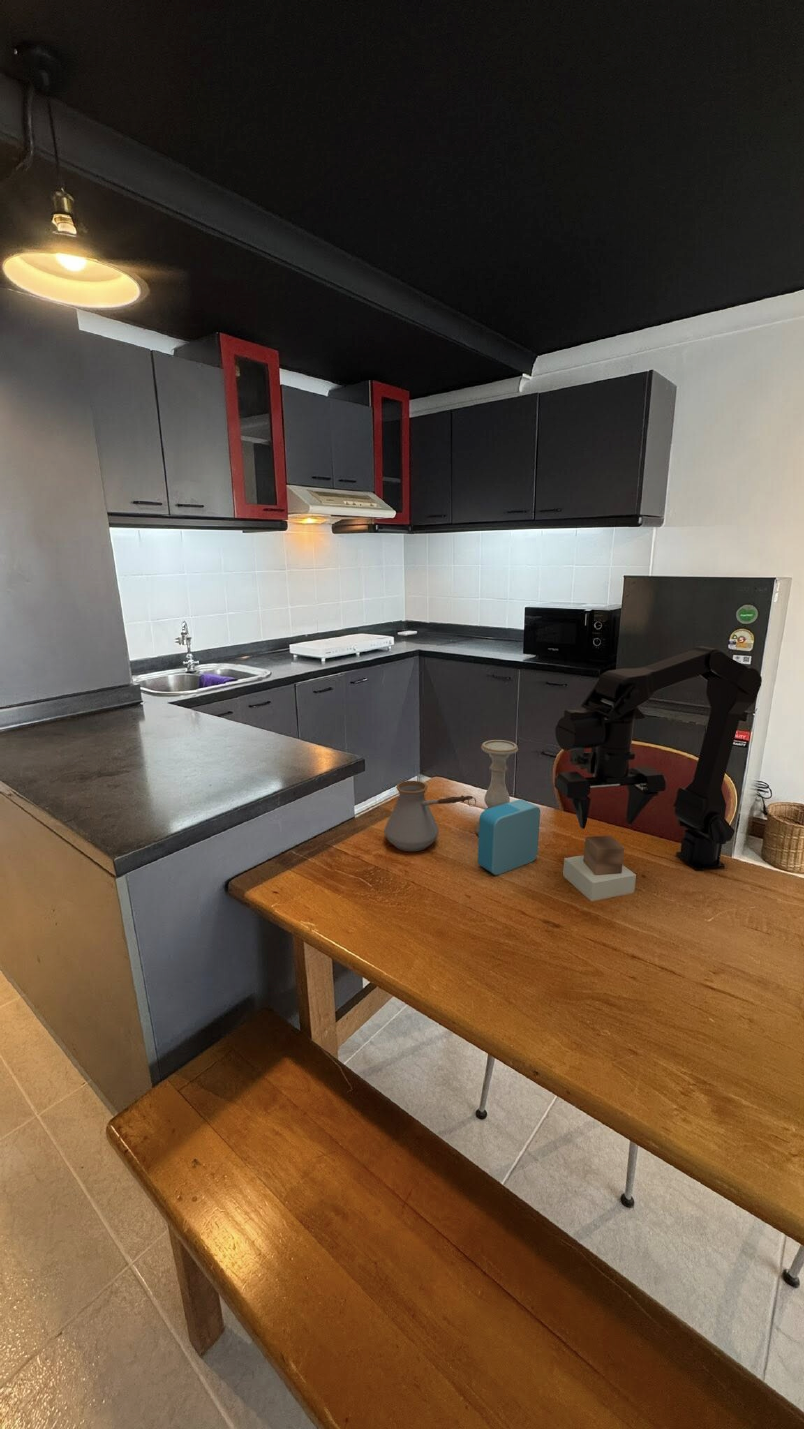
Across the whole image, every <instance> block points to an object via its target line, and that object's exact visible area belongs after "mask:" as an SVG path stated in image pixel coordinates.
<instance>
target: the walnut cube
mask: <svg viewBox="0 0 804 1429" xmlns="http://www.w3.org/2000/svg"><path fill="white" fill-rule="evenodd" d="M624 853H625V847H624V846H623V845H622V844H621V843H619V841H617V840H616V838H615V837H613V836H612V834H611V835H610V834H609V835H598V836H596V835H595V836H585V839H584V850H583V855H584V859H583V862H584V863H585V864H586V865H587V866H588V867H589V869H590V870H591V871H592V872H593V873H594V874H595V875H606V874H620V873H622V865H624V863H623V862H624V855H625V854H624Z"/></svg>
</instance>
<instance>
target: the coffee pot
mask: <svg viewBox="0 0 804 1429" xmlns="http://www.w3.org/2000/svg"><path fill="white" fill-rule="evenodd" d="M395 788H396V790H397V791H398V793H399V796H398V798H397V800H396V803H395V804H394V806H393V809H392V811H391V813H390V816H389V817H388V820H387V822H386V825H385V827H384V829H383V830H384V831H383V832H384V835H385V837H386V839H387V840H388V841H389V842H390V844H392V845H394V847H395V848H396V849H399V850H401V851H404V852H418V851H422V850H425V849H427V848H428V847H429V846H431V844H433V843H434V842H435V841H436V839H437V838H438V836H439V833H440V829H439V827H438V824H437V822H436V819H435V818H434V817H435V816H434V815H433V813H432V811H431V808H430V806H433V805H434V806H435V805H446V804H447V805H448V804H456V803H459V802H462V803H464V802H465V801H467V805H468V806H469V807H472V808H473V807H475V806H476V805H477V799H476V797H473V795H466V796H465V795H463V794H462V795H460V796H450V797H446V798H440V799H439V798H438V799H435V800H427V799H426V797H425V793H426V792H427V789H428V785H427V784H426V783H425V782H423V781H420V780H405V781H401V782H399V783H397V785H396V787H395ZM473 799H474V805H471V804H470V801H471V800H473Z"/></svg>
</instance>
